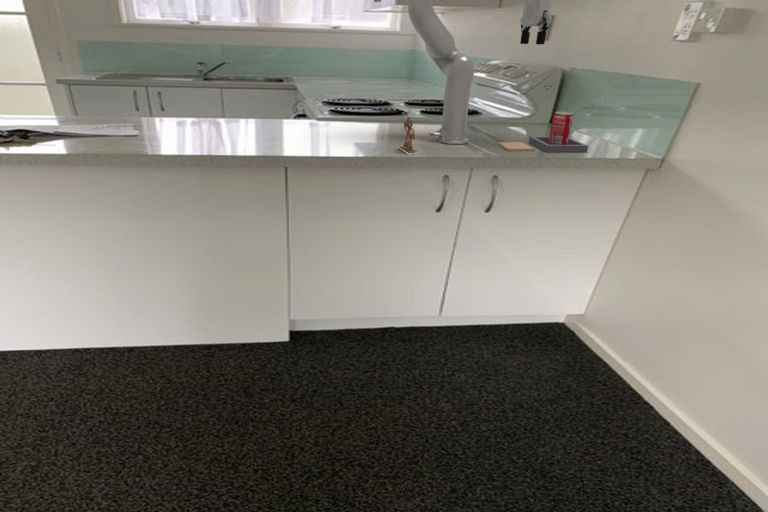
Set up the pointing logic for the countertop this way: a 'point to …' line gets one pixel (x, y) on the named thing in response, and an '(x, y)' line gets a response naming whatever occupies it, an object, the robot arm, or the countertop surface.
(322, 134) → the countertop surface
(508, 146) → the tile
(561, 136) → the soda can
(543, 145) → the gray square tray
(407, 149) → the bronze figurine
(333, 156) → the countertop surface
